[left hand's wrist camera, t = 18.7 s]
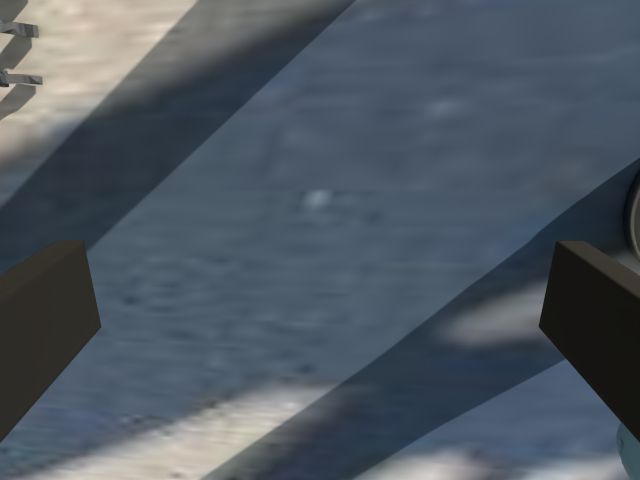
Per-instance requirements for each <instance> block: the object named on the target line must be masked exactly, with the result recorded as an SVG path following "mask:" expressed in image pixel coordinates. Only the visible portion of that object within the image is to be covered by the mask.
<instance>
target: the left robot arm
mask: <svg viewBox="0 0 640 480" xmlns="http://www.w3.org/2000/svg"><path fill="white" fill-rule="evenodd" d="M624 232H625V236H626V240H627V243H628V245H629V247H630V249H631V251H632V253H633V254H634V256H635V257H636V258H637V259H638V260H639V261H640V172H639V174H638V175H637V177H636V179H635V181H634V183H633V185H632V187H631V189H630V192H629V194H628V197H627V201H626V205H625V210H624ZM100 328H101V323H100V318H99V313H98V308H97V303H96V298H95V294H94V289H93V284H92V279H91V274H90V269H89V265H88V260H87V255H86V250H85V245H84V241H55V242H54V243H52V244H50V245H49V246H47V247H46V248H44V249H42V250H41V251H39V252H38V253H36V254H34V255H33V256H31V257H30V258H28V259H26V260H25V261H23V262H22V263H20V264H18V265H17V266H15V267H14V268H12V269H11V270H9V271H7V272H6V273H4V274H3V275H1V276H0V443H1V442H2V440H3V439H4V438H5V437H6V436H7V435H8V434H9V432H10V431H11V430H12V429H13V428H14V427H15V425H16V424H17V423H18V422H19V421H20V420H21V419H22V417H23V416H24V415H25V414H26V413H27V412H28V411H29V409H30V408H31V407H32V406H33V405H34V404H35V402H36V401H37V400H38V399H39V398H40V397H41V396H42V394H43V393H44V392H45V391H46V390H47V389H48V388H49V386H50V385H51V384H52V383H53V382H54V381H55V379H56V378H57V377H58V376H59V375H60V374H61V373H62V371H63V370H64V369H65V368H66V367H67V366H68V365H69V363H70V362H71V361H72V360H73V359H74V358H75V356H76V355H77V354H78V353H79V352H80V351H81V350H82V348H83V347H84V346H85V345H86V344H87V343H88V342H89V340H90V339H91V338H92V337H93V336H94V335H95V333H96V332H97V331H98V330H99V329H100ZM539 328H540V329H541V330H542V331H543V332H544V333H545V335H546V336H547V337H548V338H549V339H550V340H551V342H552V343H553V344H554V345H555V346H556V347H557V348H558V350H559V351H560V352H561V353H562V354H563V355H564V356H565V358H566V359H567V360H568V361H569V362H570V363H571V365H572V366H573V367H574V368H575V369H576V370H577V371H578V373H579V374H580V375H581V376H582V377H583V378H584V379H585V381H586V382H587V383H588V384H589V385H590V386H591V388H592V389H593V390H594V391H595V392H596V393H597V394H598V396H599V397H600V398H601V399H602V400H603V401H604V402H605V404H606V405H607V406H608V407H609V408H610V409H611V411H612V412H613V413H614V414H615V415H616V416H617V417H618V419H619V420H620V421H621V424H620V425H619V428H618V431H617V436H616V442H617V449H618V452H619V454H620V457H621V460H622V464H623V466H624V468H625V470H626V472H627V474H628V476H629V478H630V480H640V276H639V275H637V274H636V273H634V272H633V271H631V270H629V269H628V268H626V267H625V266H623V265H622V264H620V263H618V262H617V261H615V260H614V259H612V258H610V257H609V256H607V255H606V254H604V253H602V252H601V251H599V250H598V249H596V248H594V247H593V246H591V245H590V244H588V243H586V242H585V241H556V245H555V250H554V255H553V260H552V265H551V269H550V274H549V279H548V284H547V289H546V294H545V298H544V303H543V308H542V313H541V318H540V323H539Z"/></svg>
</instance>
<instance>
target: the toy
mask: <svg viewBox="0 0 640 480" xmlns="http://www.w3.org/2000/svg"><path fill="white" fill-rule="evenodd" d="M0 33H7V34H14V35H21V36H28V37H35V38H38V26H36V25H30V24H23V23H17V22H9V21H3V20H0ZM14 83H28V84H41V85H42V77H38V76H31V75H24V74H8V73H7V71H4V70H0V87H9V84H14Z"/></svg>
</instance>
